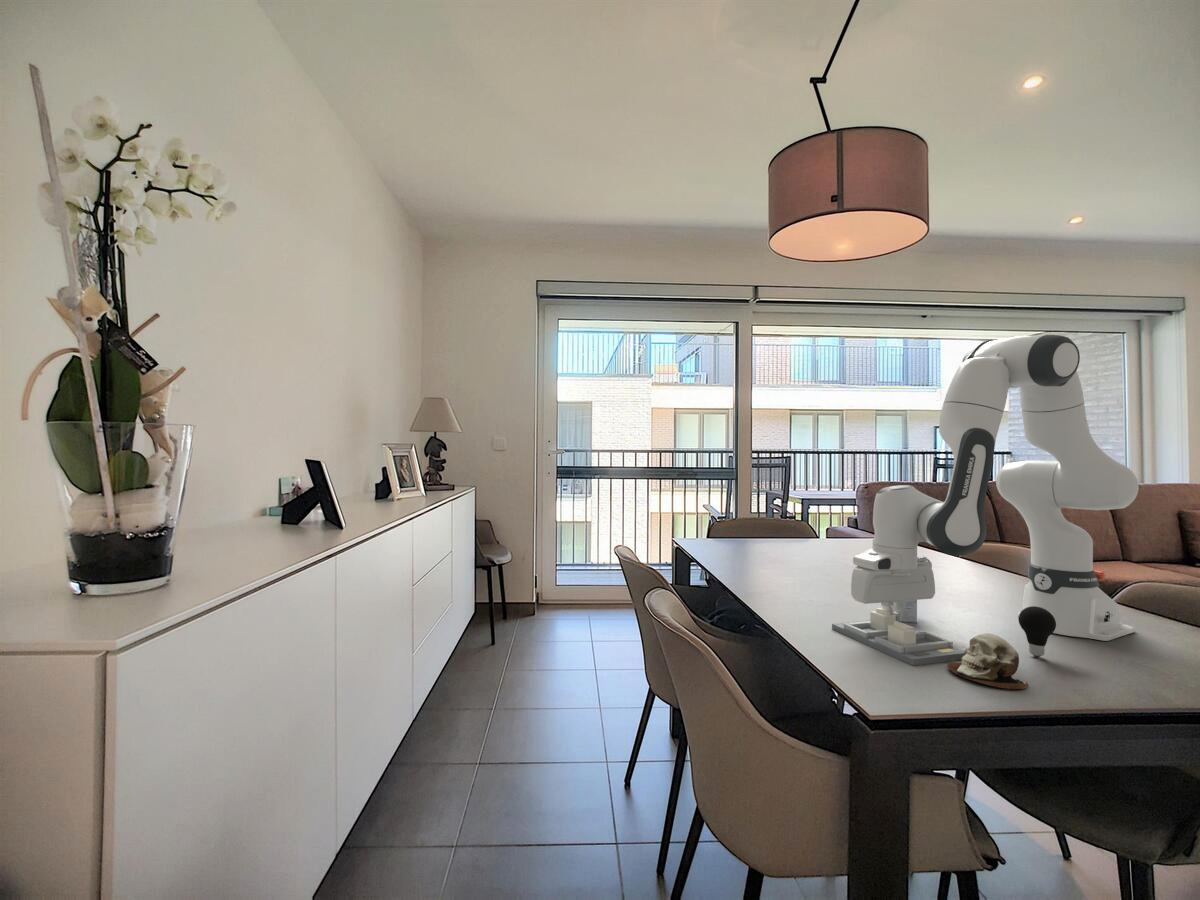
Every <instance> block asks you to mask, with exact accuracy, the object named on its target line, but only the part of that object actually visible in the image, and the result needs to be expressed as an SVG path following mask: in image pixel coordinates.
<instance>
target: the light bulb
mask: <svg viewBox="0 0 1200 900" xmlns="http://www.w3.org/2000/svg"><path fill="white" fill-rule="evenodd" d="M1019 612H1020V614H1019V617H1018V618H1017V619H1018V624H1019V626H1020V627H1021V629H1022V631H1023V632H1024V634H1025V637H1026V640H1027V643H1028V653H1030V654H1031V655H1032V656H1033V657H1035V658H1041V657H1043V656H1044V655H1045V648H1046V645H1047V642H1048V639H1049V637H1050V636H1051V635H1052V634H1054V633H1053V632H1054V630H1055V628H1056V621H1055V618H1054V617H1053V615H1052V614H1051V613H1050V612H1049V611H1047V610H1046V609H1044V608H1041V607H1036V606H1031V607H1027V608H1025V609H1023V610H1022V609H1021V611H1019Z"/></svg>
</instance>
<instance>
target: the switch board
mask: <svg viewBox="0 0 1200 900" xmlns="http://www.w3.org/2000/svg"><path fill="white" fill-rule="evenodd" d="M897 622H899V621H897ZM900 623H902V622H900ZM904 624H905V625H908V624H906V623H904ZM908 626H910V625H908ZM910 628H911V629H914V630H916V627H915V626H910ZM831 629H832V630H833V631H834V632H835V631H836V632H837V633H840V634H842V635H844V636H847V637H849V638H850V639H853V640H855V641H857V642H860V643H862V644H865V645H866V646H869V647H871V648H872V649H875V650H877V651H880V652H881V653H884V654H886V655H888V656H890V657H893V658H895V659H897V660H899V661H902V662H903V661H904V663H906V664H909V665H910V666H912V667H913V666H922V665H929V664H937V663H943V662H950V661H951V662H954V661H960V660H961V661H962V657H963V656H964V655H965V653H964V650H965V649H962V648H959V647H956V646H954V645H953V644H954V642H953V641H951V640H948V639H946V638H943V637H940V636H938V635H935V634H932V633H930V632H927V631H918V632H917V631H916V644H912V645H903V646H899V645H897V644H894V643H892V642H890V641H888V629H883V630H876V629H873V628H871V627H870V619H868V620H867V619H866V620H858V621H857V620H856V621H848V622H845V621H844V622H837V623H836V622H835V623H831Z"/></svg>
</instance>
